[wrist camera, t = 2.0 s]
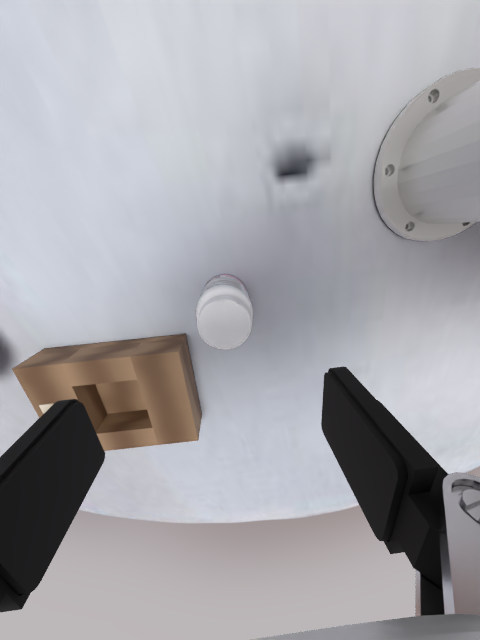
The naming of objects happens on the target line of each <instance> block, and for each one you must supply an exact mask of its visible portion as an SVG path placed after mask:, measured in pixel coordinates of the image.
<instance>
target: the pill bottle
mask: <svg viewBox="0 0 480 640" xmlns="http://www.w3.org/2000/svg"><path fill="white" fill-rule="evenodd" d="M196 318H197V327H198V332H199V334H200V336H201V338H202V339H203V340H204V342H205V343H207V344H208V345H209V346H211V347H214V348H216V349H221V350H228V349H233V348H236V347H238V346H239V345H241V344H242V343H243V342H244V341H245V340H246V339H247V338H248V336H249V334H250V332H251V328H252V319H253V308H252V304H251V301H250V298H249V296H248V293H247V290H246V288H245V286H244V284H243V283H242V282H241V281H240V280H239V279H238V278H236V277H234V276H232V275H227V274H222V275H217V276H215V277H213V278H212V279H210V280H209V281H208V282H207V283H206V285H205V287H204V289H203V292H202V294H201V297H200V299H199V302H198V304H197V309H196Z"/></svg>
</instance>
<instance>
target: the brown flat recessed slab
mask: <svg viewBox="0 0 480 640" xmlns="http://www.w3.org/2000/svg"><path fill="white" fill-rule="evenodd" d="M12 370H13V372H14V373H15V375H16V377H17V379H18V380H19V382H20V384H21V386H22V387H23V389H24V391H25V393H26V395H27V396H28V398H29V400H30V402H31V403H32V405H33V407H34V409H35V410H36V412H37V414H38V416H39V418H40V417H41V416H42V415H43V414H44V413H45V412H46V411H47V410H48V409H49V408H50V407H51V406H52V405H53V404H54V403H56V402H57V401H60V400H69V399H77V400H79V402H81V403H83V405H84V407H85V409H86V411H87V413H88V416H89V418H90V420H91V422H92V425H93V427H94V429H95V431H96V434H97V436H98V438H99V440H100V443H101V445H102V447H103V449H104V451H107V450H116V449H125V448H134V447H143V446H152V445H161V444H170V443H179V442H188V441H197V440H198V438H199V431H200V424H201V417H202V413H201V408H200V403H199V398H198V393H197V388H196V383H195V378H194V373H193V368H192V363H191V358H190V353H189V348H188V343H187V338H186V334H180V335H170V336H161V337H151V338H141V339H132V340H122V341H113V342H103V343H93V344H84V345H74V346H64V347H55V348H45V349H43V350H41V351H40V352H38V353H36V354H35V355H33V356H32V357H30V358H29V359H27V360H25V361H24V362H22V363H21V364H19V365H18V366H16V367H14V368H13V369H12Z"/></svg>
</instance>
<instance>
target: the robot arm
mask: <svg viewBox="0 0 480 640" xmlns="http://www.w3.org/2000/svg"><path fill="white" fill-rule="evenodd" d="M374 195H375V201H376V206H377V208H378V211H379V213H380V216H381V218H382V219H383V220H384V222H385V223H386V225H387V226H388V227H389V228H390V229H391V230H392V231H394V232H395V233H396V234H398V235H400V236H402V237H404V238H407V239H411V240H416V241H434V240H441V239H444V238H448V237H451V236H454V235H456V234H458V233H460V232H462V231H464V230H466V229H467V228H469V227H470V226H472V225H473V224H474V223H476V222H480V68H469V69H465V70H460V71H456V72H454V73H452V74H449V75H447V76H445V77H443V78H441V79H439V80H438V81H436V82H435V83H434V84H432V85H431V86H429V87H428V88H426V89H425V90H424V91H422V92H421V93H420V94H419V95H418V96H416V97H415V98H414V99H413V100H411V102H410V103H409V104H408V105H407V106H406V107H405V108H404V109H403V111H402V112H401V113H400V114H399V115H398V117H397V118H396V120H395V121H394V123H393V124H392V126H391V127H390V129H389V131H388V133H387V135H386V137H385V139H384V141H383V143H382V146H381V149H380V152H379V155H378V158H377V161H376V167H375V174H374ZM321 424H322V430H323V433H324V435H325V437H326V439H327V441H328V443H329V445H330V447H331V449H332V451H333V453H334V455H335V457H336V459H337V461H338V463H339V465H340V467H341V469H342V471H343V473H344V475H345V477H346V479H347V481H348V483H349V485H350V487H351V489H352V491H353V493H354V495H355V497H356V499H357V501H358V503H359V505H360V507H361V508H362V511H363V513H364V515H365V517H366V519H367V521H368V522H369V524H370V526H371V528H372V530H373V532H374V534H375V536H376V537H377V539H379V541H384V543H385V545H386V546H387V548H388V550H389V552H390V554H394V553H401V552H405V553H406V555H407V557H408V559H409V561H410V562H411V564H412V566H413V568H415V569H416V617H409V618H400V619H392V620H384V621H376V622H368V623H360V624H352V625H344V626H338V627H332V628H325V629H318V630H311V631H305V632H299V633H292V634H286V635H279V636H273V637H266V638H259V639H252V640H480V477H477V476H474V475H471V474H467V473H458V472H456V473H452V474H447V473H446V472H445V470H444V469H443V468H442V467H441V466H440V465H439V464H438V463H437V462H436V461H435V460H434V459H433V458H432V457H431V456H430V455H429V453H428V452H427V451H426V450H425V449H424V448H423V447H422V446H421V445H420V444H419V443H418V442H417V441H416V440H415V439H414V437H413V436H412V435H411V434H410V433H409V432H408V431H407V430H406V429H405V428H404V427H403V426H402V425H401V424H400V423H399V422H398V420H397V419H396V418H395V417H394V416H393V415H392V414H391V413H390V412H389V411H388V410H387V409H386V408H385V407H384V406H383V404H382V403H380V402H379V401H378V400H376V399H375V398H374V397H373V396H372V395H371V394H370V392H369V391H368V390H367V389H366V388H365V387H364V386H363V385H362V384H361V383H360V382H359V381H358V380H357V378H356V377H355V376H354V375H353V374H352V373H351V372H350V371H349V370H348V369H347V368H346V367H337V368H330V369H329V371H328V373H325V375H324V390H323V407H322V423H321ZM104 459H105V452H104V449H103V447H102V445H101V443H100V440H99V438H98V436H97V434H96V431H95V429H94V427H93V425H92V422H91V420H90V418H89V416H88V413H87V411H86V409H85V407H84V405H83V403H81V402H79V400H77V399H69V400H60V401H57V402H56V403H54V404H53V405H52V406H51V407H50V408H49V409H48V410H47V411H46V412H45V413H44V414H43V415H42V416H41V417H40V418H39V419H38V420H37V421H36V422H35V423H34V424H33V425H32V426H31V427H30V428H29V429H28V430H27V431H26V432H25V433H24V434H23V435H22V436H21V437H20V438H19V439H18V440H17V441H16V442H15V443H14V444H13V445H12V446H11V447H10V448H9V449H8V450H7V451H6V452H5V453H4V454H3V455H2V456H1V457H0V612H6V611H12V610H19V609H22V608H23V606H24V604H25V602H26V600H27V598H28V597H29V595H30V593H31V592H32V591H33V590H35V588H36V587H37V586H38V585H39V583H40V581H41V580H42V578H43V576H44V574H45V572H46V570H47V568H48V566H49V564H50V563H51V561H52V559H53V557H54V555H55V553H56V551H57V549H58V547H59V545H60V544H61V542H62V540H63V538H64V536H65V534H66V532H67V530H68V528H69V527H70V525H71V523H72V521H73V519H74V517H75V515H76V513H77V511H78V510H79V508H80V506H81V504H82V502H83V500H84V498H85V496H86V494H87V492H88V491H89V489H90V487H91V485H92V483H93V481H94V479H95V477H96V475H97V473H98V472H99V470H100V468H101V466H102V464H103V462H104Z"/></svg>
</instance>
